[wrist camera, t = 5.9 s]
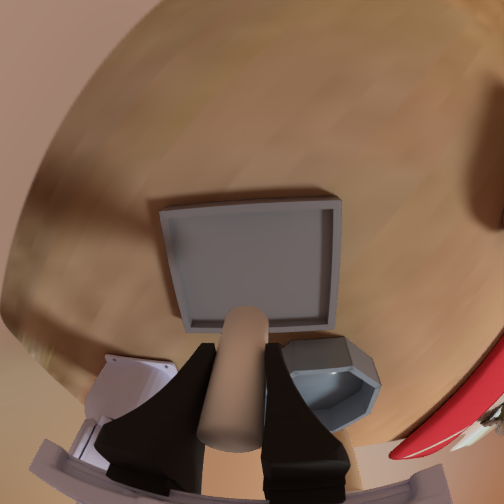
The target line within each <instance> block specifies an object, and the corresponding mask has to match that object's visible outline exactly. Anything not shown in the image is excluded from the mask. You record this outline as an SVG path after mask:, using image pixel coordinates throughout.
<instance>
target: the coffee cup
mask: <svg viewBox="0 0 504 504" xmlns="http://www.w3.org/2000/svg"><path fill="white" fill-rule="evenodd" d="M332 434H333V435H334V436H335V437H336V438H337V439H338V440H339V441H341V442H342V444H343V446H344V448H345V449H346V452H347V454H348V456H349V459H350V463H351V467H350V469H349V471H348V472H347V474H346V475H345V478H346V485H345V493H346V494H349V493H354V492H360V491H363V487H362V482H361V477H360V473H359V469H358V464H357V460H356V456H355V453H354V448H353V444H352V440H351V437H350V434H349V433H348V432H347V431H345V430H342V429H341V430H339V431H337V432H335V433H332Z"/></svg>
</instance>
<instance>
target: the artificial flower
mask: <svg viewBox="0 0 504 504" xmlns="http://www.w3.org/2000/svg"><path fill="white" fill-rule="evenodd" d="M482 424H483V426H484V427H487V426H492V425H494V424H497V425H496V428H495V434H497V433H499V435H500V434H501V436H503V435H504V405H503V406H502V408H501V413H500V415H499V416H498V417H493V418H492V419H491V420H488V421H486V422H484V423H482Z"/></svg>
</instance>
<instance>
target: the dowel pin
mask: <svg viewBox="0 0 504 504" xmlns="http://www.w3.org/2000/svg"><path fill="white" fill-rule="evenodd" d="M268 329H269V322H268V318H267V316H266V315H265V314H264V313H263V312H262V311H261V310H260V309H258V308H256V307H253V306H245V305H244V306H238V307H235V308H233V309H231V310H230V311H229V312H228V313H227V315H226V317H225V321H224V325H223V329H222V333H221V337H220V341H219V344H218V348H217V352H216V356H215V360H214V364H213V368H212V372H211V376H210V380H209V384H208V388H207V392H206V396H205V400H204V404H203V408H202V412H201V416H200V420H199V425H198V429H197V433H196V435H197V438H198V439H199V440H200V441H201V442H202V443H204V444H205V445H207V446H209V447H211V448H214V449H217V450H221V451H225V452H234V453H242V452H249V451H253V450H256V449H258V448H260V447H261V446H262V443H263V434H264V418H265V399H266V368H265V344H266V343H268Z"/></svg>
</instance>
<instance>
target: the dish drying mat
mask: <svg viewBox="0 0 504 504" xmlns="http://www.w3.org/2000/svg"><path fill="white" fill-rule="evenodd" d="M503 393H504V335H503V336H502V337H501V339H500V340H499V342H498V343H497V344H496V346H495V347H494V348H493V350H492V351H491V352H490V353H489V355H488V356H487V357H486V358H485V360H484V361H483V362H482V363H481V365H480V366H479V367H478V368H477V369H476V371H475V372H474V373H473V374H472V375H471V376H470V378H469V379H468V380H467V381H466V382H465V383H464V384H463V385H462V387H461V388H460V389H459V390H458V391H457V392H456V393H455V394H454V395H453V396H452V397H451V398H450V399H449V400H448V401H447V402H446V403H445V404H444V405H443V406H442V407H441V408H440V409H439V410H438V411H437V412H436V413H435V414H434V415H433V416H432V417H430V418H429V419H428V420H427V421H426V422H425V423H424V424H423V425H421V426H420V427H419V428H418V429H417V430H415V431H414V432H413V433H412V434H411V435H409V436H408V437H407V438H406V439H405V440H404V441H403V442H401V443H400V444H399V445H398V446H397V447H396V448H395V449H394V450H393V451H391V452H390V454H389V458H390V459H393V460H401V459H412V458H420V457H424V456H427V455H430V454H433V453H435V452H437V451H438V450H440V449H442V448H443V447H445V446H446V445H448V444H449V443H450V442H451V441H453V440H454V439H455V438H457V437H458V436H459V435H460V434H461V433H462V432H464V431H465V430H466V429H467V428H468V427H470V426H471V425H472V424H473V423H474V422H475V421H476V420H477V419H479V418H480V417H481V416H482V415H483V414H484V413H485V412H486V411H487V410H488V409H489V408H490V407H491V406H492V405H493V404H494V403H495V402H496V401H497V400H498V399H499V398H500V397H501V396H502V395H503Z"/></svg>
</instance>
